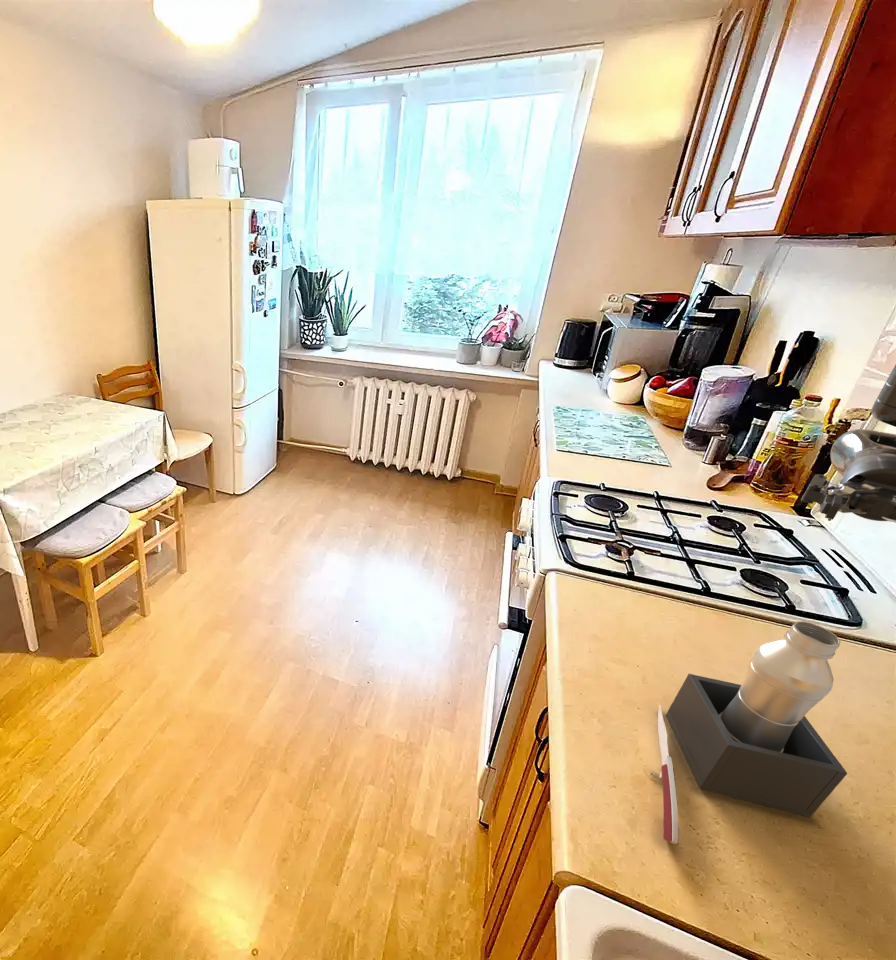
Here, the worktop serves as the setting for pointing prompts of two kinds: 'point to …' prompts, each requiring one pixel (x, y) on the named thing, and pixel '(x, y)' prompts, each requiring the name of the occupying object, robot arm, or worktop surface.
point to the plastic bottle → (781, 686)
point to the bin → (750, 753)
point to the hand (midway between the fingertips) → (883, 525)
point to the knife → (668, 787)
